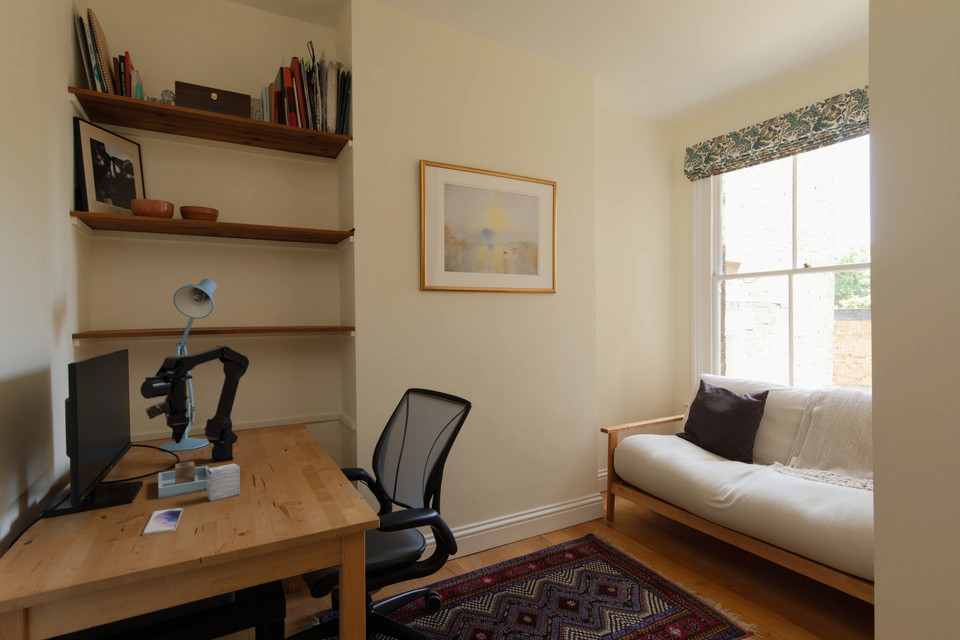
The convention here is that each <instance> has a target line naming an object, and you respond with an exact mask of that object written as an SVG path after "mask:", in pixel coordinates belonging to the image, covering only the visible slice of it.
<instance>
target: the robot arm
mask: <svg viewBox="0 0 960 640" xmlns="http://www.w3.org/2000/svg"><path fill="white" fill-rule="evenodd" d="M217 359H218V361H219V362H220V363H221V364H223V368H222V371H223V374H224V381H223V385H222V388H221V392H220V396H219V400H218V404H217V407H216V411H215V414H214V416H212V418H207V420H206V425H205V428H204V429H203V430H204V435H205V437H206V439H207V441H208V444H212V447H210V453H211V454H210V459H211V461H213V463H218V462H219V463H220V462H226V461H233V460H234V456H233V453H234V450H233V449H234V447H233V446H234V444H235V443H237V442H238V438H239V436H238V435H237V434H236V433H235V432H234V431H233V422H232V418H231V415H232V410H233V406H234V403H235V399H236V395H237V391H238V387H239V383H240V380H241V378H242V377H243V376H244V375H245V374H246V373H247V371H248V368H249V365H250V360H249V359H248V357H247V356H246V355H243V354H242V353H239V352H238V351H236V350H234V349H232V348H230V347H229V346H227V345H216V346H214V347H211V348H207V349H204V350H200V351H196V352H194V353H189V354H179V355H176V354H175V355H168V356H166V357H165V358H164V360H163V363H162V364H161V366H160V367H159V369H158V371H157V372H156V373H155V375H154V376H146V377H145V378H144V379H145V380H144V381H143V382H142V384H141V386H140V395H141V396H142V397H143V398H144V399H146V400H148V399H153V398H154V399H155V398H161V397H164V401H162V402H159V403H156V404H153V405H150V406H148V407H146V408H145V412H146V415H147V416H148V419H149V420H152V419H155V418H156V417H158V416H160V415H163V414H164V417H165V419H166V423H165V424H166V426H167V427H168V428H170V429H171V430H172V434H173V437H174V442H175V444H180V443H181V441H182V439H183V436H184V435H185V432H186V430H187V428H188V426H189V424H190V423H191V422H190V421H191V420H190V419H191V418H190V414H189V413H188V407H187V406H188V403H187V401H188V396H187V395H188V394H187V393H188V390H187V387H188V386H187V383H188V382H187V380H191V379H194V378H193V376H192V375H191V374H189V372H190V371H193V370H194V369H195V367H196V366H198V365H202V364H205V363H208V362H211V361H214V360H217Z"/></svg>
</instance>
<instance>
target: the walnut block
mask: <svg viewBox="0 0 960 640" xmlns="http://www.w3.org/2000/svg"><path fill="white" fill-rule="evenodd" d="M174 467H175V468H174V469H175V470H174V471H175V485H176V484H182V483H189V482H195V468H196V466H195V462H194V461H186V462H181V463H180V462H179V463H175V465H174Z"/></svg>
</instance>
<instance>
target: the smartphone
mask: <svg viewBox="0 0 960 640" xmlns="http://www.w3.org/2000/svg"><path fill="white" fill-rule="evenodd" d="M183 512H184V508H183V507H177V508H168V509H167V508H166V509H160V510H155V511H153V512H152V513H151V516H150V518H149V519H148V521H147V523H146V525H145V527H144V528H143V531H142V533H141V535H142V537H146V536H153V535H160V534H164V533H172V532H174V531H176V530H177V527H178V524H179V522H180V518H181V517H180V516H182V514H183Z"/></svg>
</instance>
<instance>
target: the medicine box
mask: <svg viewBox="0 0 960 640" xmlns="http://www.w3.org/2000/svg"><path fill="white" fill-rule="evenodd" d="M240 469H241V468H240V466H239V465H238V464H236V463H230V464H225V465H219V466H215V467H209V469H207V490H206V498H207V499H208V500H209V501H210V502H213V501H218V500H222V499H225V498H231V497H234V496H238V495H240V490H241V489H240V477H241V475H240V474H241V472H240Z"/></svg>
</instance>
